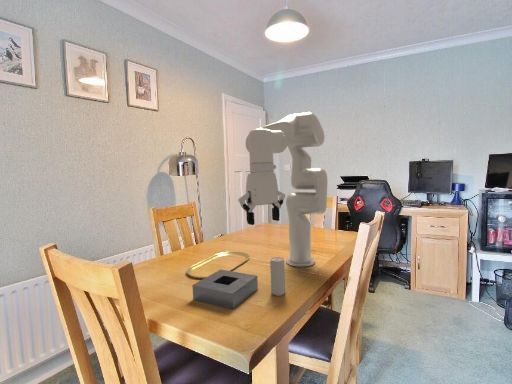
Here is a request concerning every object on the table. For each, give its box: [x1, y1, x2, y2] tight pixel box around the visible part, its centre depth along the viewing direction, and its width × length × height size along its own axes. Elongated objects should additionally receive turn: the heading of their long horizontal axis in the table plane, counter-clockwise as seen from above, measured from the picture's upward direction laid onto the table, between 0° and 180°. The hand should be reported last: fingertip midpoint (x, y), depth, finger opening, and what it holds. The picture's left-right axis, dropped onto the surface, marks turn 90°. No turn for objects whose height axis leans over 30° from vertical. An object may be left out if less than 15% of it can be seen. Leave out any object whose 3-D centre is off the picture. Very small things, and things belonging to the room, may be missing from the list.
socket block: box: [192, 268, 259, 310], centre depth 99 cm, size 16×16×5 cm
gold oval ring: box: [186, 251, 250, 280], centre depth 130 cm, size 19×35×2 cm, turn 153°
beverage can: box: [269, 256, 286, 297], centre depth 98 cm, size 5×5×12 cm
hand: (263, 222), depth 93 cm, fingers open, 9 cm apart
